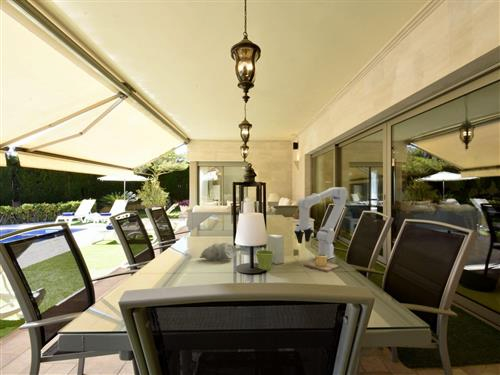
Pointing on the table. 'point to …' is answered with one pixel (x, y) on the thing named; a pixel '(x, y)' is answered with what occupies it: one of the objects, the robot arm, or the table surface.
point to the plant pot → (264, 259)
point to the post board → (322, 268)
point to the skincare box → (276, 248)
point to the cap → (321, 260)
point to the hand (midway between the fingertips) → (303, 242)
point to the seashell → (219, 252)
